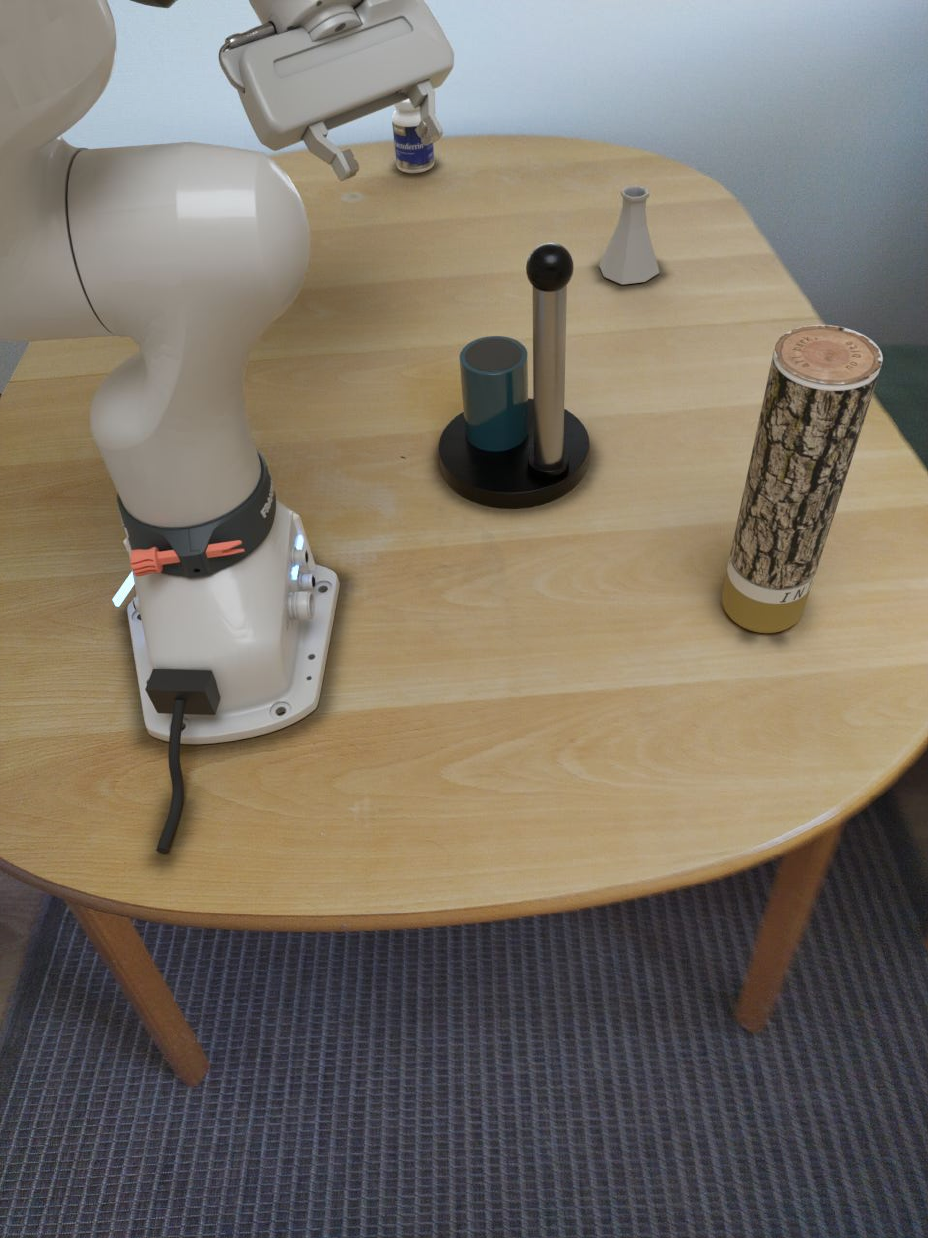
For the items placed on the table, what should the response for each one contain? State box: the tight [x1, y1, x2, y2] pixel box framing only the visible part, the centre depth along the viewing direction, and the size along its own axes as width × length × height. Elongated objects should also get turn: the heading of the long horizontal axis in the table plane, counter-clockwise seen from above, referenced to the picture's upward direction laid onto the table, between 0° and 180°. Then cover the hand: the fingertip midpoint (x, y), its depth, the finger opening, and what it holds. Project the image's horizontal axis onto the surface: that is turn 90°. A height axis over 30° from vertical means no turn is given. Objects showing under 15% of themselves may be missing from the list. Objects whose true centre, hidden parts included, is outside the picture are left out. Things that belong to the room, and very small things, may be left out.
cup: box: [459, 335, 529, 452], centre depth 92 cm, size 6×6×9 cm
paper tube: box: [721, 324, 884, 634], centre depth 71 cm, size 7×7×25 cm
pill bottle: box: [391, 99, 435, 174], centre depth 138 cm, size 6×6×10 cm
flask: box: [598, 184, 660, 285], centre depth 114 cm, size 7×7×10 cm
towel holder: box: [438, 242, 590, 510], centre depth 86 cm, size 15×15×24 cm
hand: (393, 157), depth 84 cm, fingers open, 8 cm apart
